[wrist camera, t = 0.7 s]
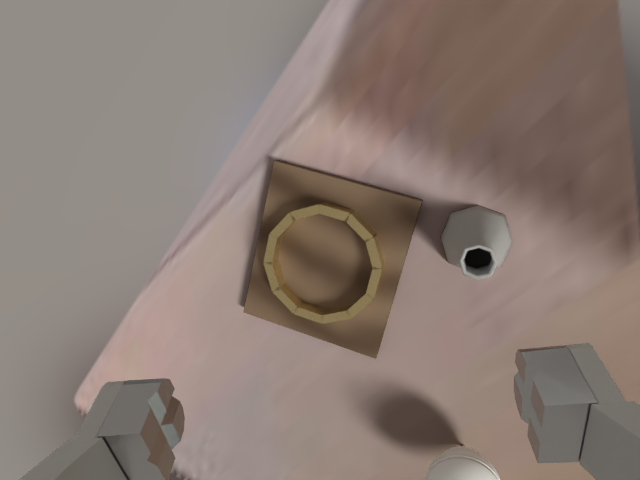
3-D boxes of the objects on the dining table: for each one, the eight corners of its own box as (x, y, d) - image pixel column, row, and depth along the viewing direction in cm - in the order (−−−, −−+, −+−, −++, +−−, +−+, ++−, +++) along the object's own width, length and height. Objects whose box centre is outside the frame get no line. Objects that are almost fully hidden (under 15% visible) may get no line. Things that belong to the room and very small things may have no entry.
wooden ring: (284, 190, 56) (277, 192, 54) (396, 222, 53) (394, 225, 51) (262, 295, 60) (255, 300, 58) (366, 331, 57) (362, 337, 55)
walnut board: (277, 160, 57) (274, 161, 56) (422, 200, 53) (421, 201, 52) (247, 308, 62) (243, 312, 61) (377, 354, 58) (375, 358, 57)
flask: (439, 269, 54) (433, 298, 45) (442, 204, 53) (437, 219, 43) (509, 274, 52) (519, 305, 43) (514, 206, 51) (525, 223, 41)
